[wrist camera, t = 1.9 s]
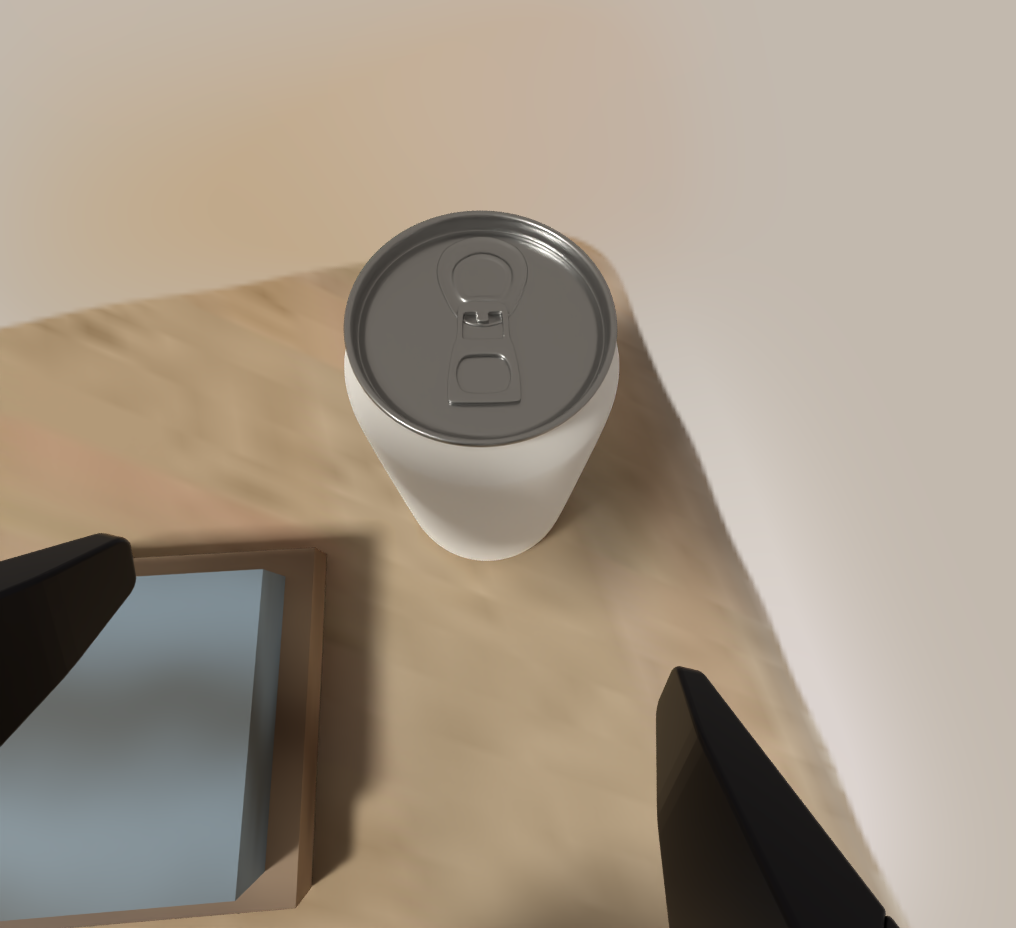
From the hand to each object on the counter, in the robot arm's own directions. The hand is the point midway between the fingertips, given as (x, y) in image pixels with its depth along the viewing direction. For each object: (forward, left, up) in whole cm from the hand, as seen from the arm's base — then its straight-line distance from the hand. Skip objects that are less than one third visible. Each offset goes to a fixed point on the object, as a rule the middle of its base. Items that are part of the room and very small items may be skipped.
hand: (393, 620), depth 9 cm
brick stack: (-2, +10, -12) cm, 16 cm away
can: (+6, -2, -13) cm, 14 cm away
